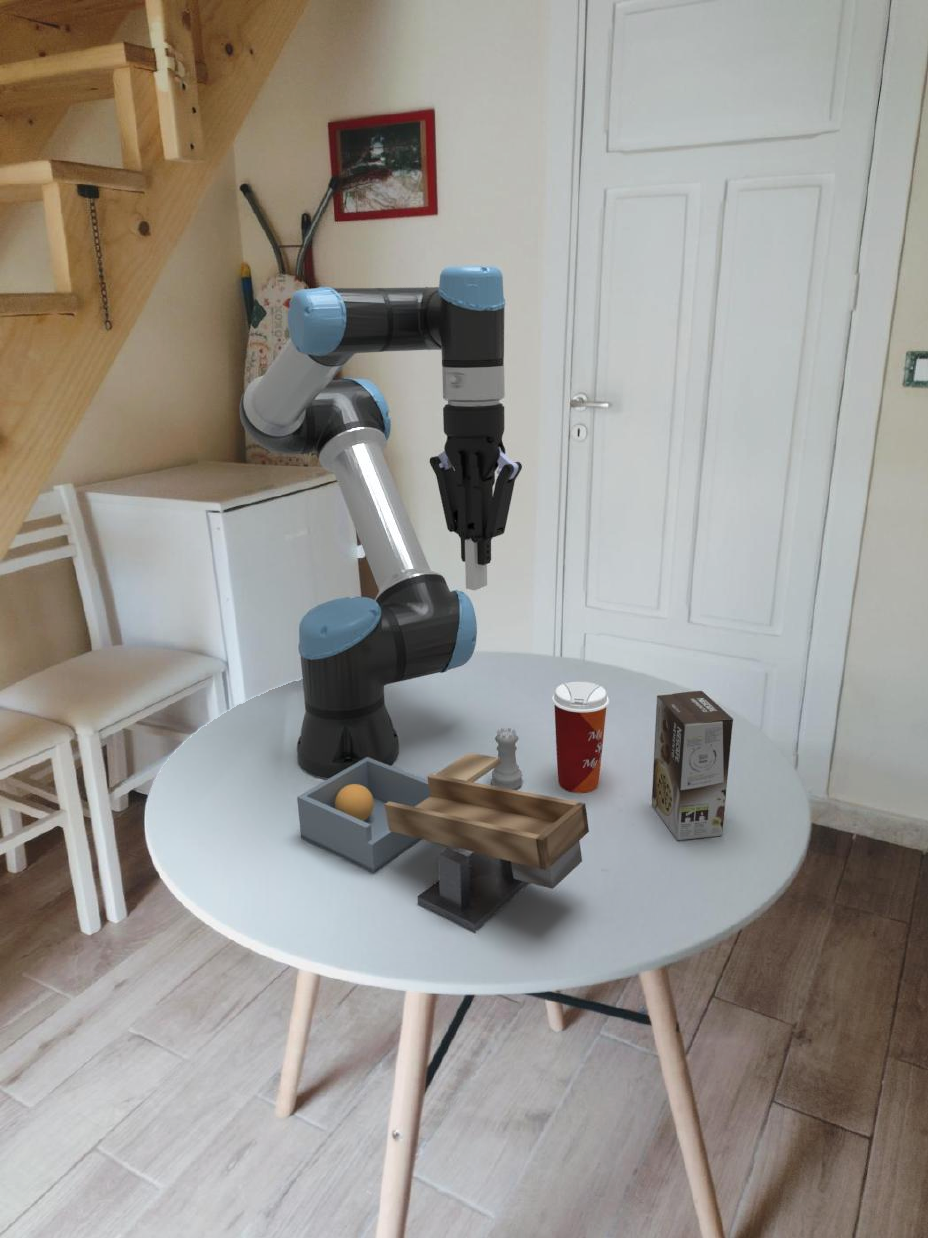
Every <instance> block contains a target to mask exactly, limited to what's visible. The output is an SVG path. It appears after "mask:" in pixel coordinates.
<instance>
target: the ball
mask: <svg viewBox="0 0 928 1238" xmlns="http://www.w3.org/2000/svg"><path fill="white" fill-rule="evenodd" d="M373 808H374V799H373V796H372V794H371V792H370V791H369V790H368V789H367V788H366V787H364V786H362V785H359V784H351V785H348V786H345V787H344V788H342V789H341V790H340V791H339V793H338V794H337V796H336V799H335V809H337V810H339V811H341V812H344V813H346V814H348V815H350V816H353V817H355V818H357V819H359V820H362V821H365V820H366V819H367V818H368V817H369V816H370V815H371V813H372V811H373Z"/></svg>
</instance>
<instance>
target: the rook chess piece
mask: <svg viewBox="0 0 928 1238" xmlns="http://www.w3.org/2000/svg"><path fill="white" fill-rule="evenodd" d="M496 732H497V734H496V736H495V737H494V741H495V742H496V743H497V746H496V751H497V757H499V758H500V762H501V764H499V765H498V766H496V767H495V768H494V769H492V770H491V779H490V781H491V784H492V786H497V787H502V788H507V789H513V790H517V789H519V787H520V786H521V785H522V783H523V782H524V781H523V778H522V777H523V772H522V770H521V768H520V766H519V765H518V764H517V758H516V757H517V756H516V752H517V749H518V747H517V746H516V743H518V741H519V736H518V735H517V732H516V730H515V729H512V728H510V727H507V730H505V727H504V728H500V729H498V730H497V731H496Z"/></svg>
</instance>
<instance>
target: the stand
mask: <svg viewBox="0 0 928 1238" xmlns="http://www.w3.org/2000/svg"><path fill="white" fill-rule="evenodd" d="M437 856H438V857H437V858H438V880H436V881H435V882H433V883H432V885H430V886H429V887H428V888H426V889H424V891H422V892H421V893H420V894H418V895H417V904H418V905H419V906H421V907H423V908H425V909H427V910H429V911H431V912H433V913H436V914H437V915H439V916H441V917H444V918H445V919H447V920H450V921H451V922H453V923H455V924H457V925H460V926H462V927H464V928H466V929H467V930H470V931H472V932H474V933H476V932H477V931H478V930H479V929H480V928H481V927H482V926H483V925H484V924H486V923H487V922H488V921H489V920H490V919H492V917H494V916H495V915H496V914H497V913H498V912H499V911H500V910H501V909H502V908H504V906H505V905H507V904H508V903H509V902H510V901H511V900H512V899H513V898H515V896H517V895H518V894H519V893H520V892H521V891H523V889H525V888H526V887H527V886H528V885H529V884H530V883H528V882H524V881H521V880H517V879H514V878H513V871H512V865H511V861H507V860H503V859H499V858H495V857H491V856H487V855H483V854H479V853H476V852H472V853H471V854H469V855H466V854H464V853H461V852H459V851H457V850H454V849H453V848H449V847H446V848H445V849H443V850H442V851H441V852H440V853H438V855H437Z"/></svg>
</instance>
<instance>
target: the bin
mask: <svg viewBox="0 0 928 1238" xmlns="http://www.w3.org/2000/svg"><path fill="white" fill-rule="evenodd" d="M351 784H359V785H362V786H364V787H366V788H367V789H368V790H369V791H370V792H371V794H372V796H373V799H374V808H373V811H372V813H371V815H370V816H369V817H368V818H367V819H366V820H365V821H362V820H359V819H357V818H355V817H353V816H350V815H348V814H346V813H344V812H341V811H339V810H337V809H335V799H336V796H337V794H338V793H339V791H340V790H341V789H342V788H344V787H345V786H348V785H351ZM428 797H430V790H429V784H428V779H427V778H423V777H421V776H418V775H415V774H413V773H410V772H408V771H405V770H402V769H401V768H397V767H394V766H392V765H387V764H384V763H382V762H379V761H377V760H374V759H371V758H369V757H366V758H364V759H363V760H361V761H359V762H357V763H356V764H354V765H352V766H350V767H349V768H347V769H345V770H343V771H341V772H340V773H338V774H336V775H334V776H333V777H331V778H329V779H326V780H324V781H322V782H321V783H319V784H317V785H315V786H313V787H311V788H310V789H308V790H307V791H304V792H303V793H301V794H299V795H298V796H296V799H297V800H296V801H297V810H298V820H299V829H300V830H299V831H300V839H302V840H304V841H306V842H308V843H310V844H312V845H314V846H316V847H318V848H320V849H323V850H324V849H325V850H324V851H327V852H329V853H331V854H333V855H335V856H336V857H339V858H341V859H343V860H345V861H347V862H349V863H351V864H353V865H355V866H358V867H360V868H361V869H363V870H366V871H367V872H369V873H371V874H376V873H377V872H379V871H380V870H382V869H383V868H384V867H386V866H387V865H388V864H390V863H391V862H392V861H394V860H395V859H398V857H399V856H401V855H402V854H404V853H405V852H406V851H408V850H409V849H411V848H412V847H413V846H414V845H416V844H417V843H419V842H420V841H422V840H423V839H420V838H416V837H412V836H408V835H404V834H400V833H396V832H392V831H389V827H388V821H387V816H386V811H385V805H384V804H386V803H387V802H389V801H390V802H394V803H399V804H403V805H408V806H412V807H415V806H417V805H418V804H420V803H421V802H422V801H424V800H425V799H427V798H428Z"/></svg>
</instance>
